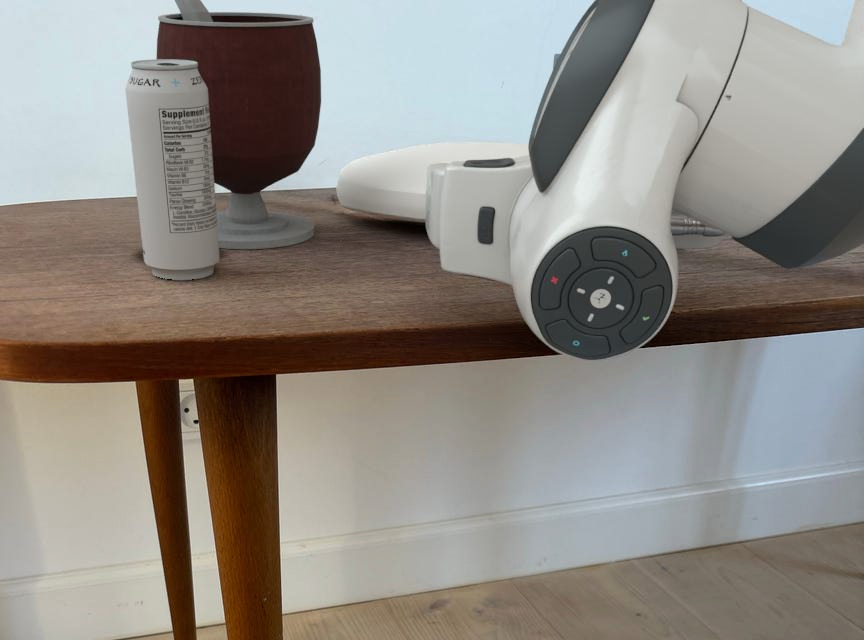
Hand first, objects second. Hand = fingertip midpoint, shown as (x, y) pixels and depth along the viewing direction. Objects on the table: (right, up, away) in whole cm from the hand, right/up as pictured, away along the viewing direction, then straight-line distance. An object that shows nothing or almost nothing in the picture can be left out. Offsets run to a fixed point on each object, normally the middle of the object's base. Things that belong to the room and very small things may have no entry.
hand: (568, 180), depth 77 cm
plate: (-4, +9, +28) cm, 29 cm away
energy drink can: (-30, -4, +9) cm, 31 cm away
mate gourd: (-27, +4, +21) cm, 34 cm away
